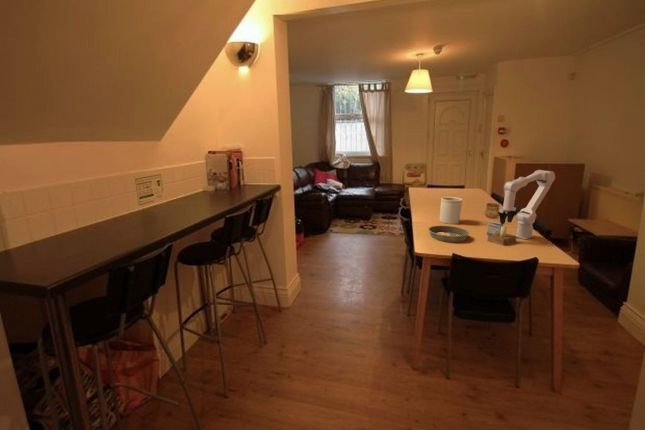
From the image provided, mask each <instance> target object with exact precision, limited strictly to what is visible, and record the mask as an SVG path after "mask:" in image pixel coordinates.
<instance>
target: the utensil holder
mask: <svg viewBox="0 0 645 430" xmlns="http://www.w3.org/2000/svg"><path fill="white" fill-rule="evenodd" d="M463 200H464V199H462V198H460V197H455V196H442V197H440V209H439V222H440V223H443V224H448V225H449V224H450V225H458V224H459V223H460V218H461V212H462V211H461V210H462V205H463V204H462V203H463V202H464V201H463Z"/></svg>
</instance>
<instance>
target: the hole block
mask: <svg viewBox="0 0 645 430" xmlns="http://www.w3.org/2000/svg"><path fill="white" fill-rule="evenodd" d="M514 235H515V234H510V233H507V232H506V235H505V237H501V236H500V232H499V233H496V234H492V235H487V242H489V243H494V244H496V245H500V246H505V245H508V244H509V245H510V244H513V243H516V242H517V238H518V237H517V236H514Z"/></svg>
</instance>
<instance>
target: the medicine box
mask: <svg viewBox="0 0 645 430" xmlns="http://www.w3.org/2000/svg"><path fill="white" fill-rule="evenodd" d="M487 223H488V224H487V228H486V229H487V230H486V235H487V236H488V235H492V234H496V233H499V232H500V231H501V227H504V224H501V223H500V221H499V222H498V221H493V220H490V221H488V222H487Z"/></svg>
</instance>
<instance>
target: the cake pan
mask: <svg viewBox="0 0 645 430" xmlns="http://www.w3.org/2000/svg"><path fill="white" fill-rule="evenodd" d="M427 230H428V232H429V235H430V237H431V239H434V240H437V241H440V240H441V242H448V243H461V242H465V241H466V239H467V236H469V234H470V232H469V231H468V230H467V229H464V228H461V227H459V226H458V227H457V226H452V225H434V226H433V225H432V226H430V227H428V228H427ZM435 232H436V233H435ZM438 232H444V233H449V234H450V236H447V235H441V234H440V233H438ZM457 234H458V235H459V236H458V235H457ZM456 235H457V236H456Z"/></svg>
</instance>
